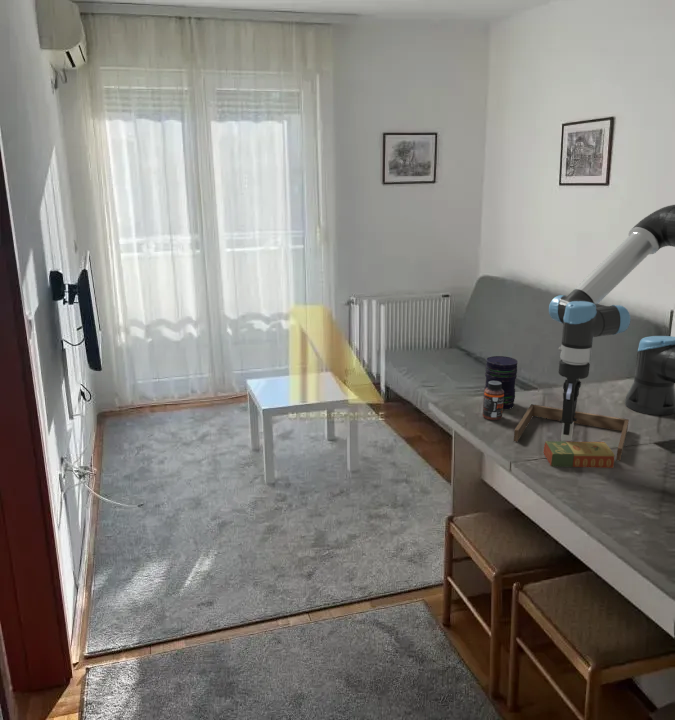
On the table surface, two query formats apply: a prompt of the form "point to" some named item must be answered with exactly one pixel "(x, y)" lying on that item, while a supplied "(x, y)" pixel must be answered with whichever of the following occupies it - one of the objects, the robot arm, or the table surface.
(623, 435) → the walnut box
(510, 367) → the storage jar
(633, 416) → the table surface
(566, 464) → the carton
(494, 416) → the supplement bottle
